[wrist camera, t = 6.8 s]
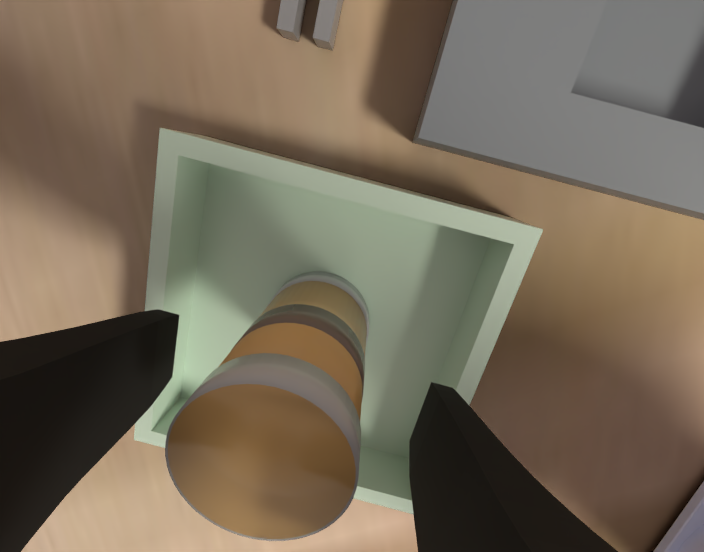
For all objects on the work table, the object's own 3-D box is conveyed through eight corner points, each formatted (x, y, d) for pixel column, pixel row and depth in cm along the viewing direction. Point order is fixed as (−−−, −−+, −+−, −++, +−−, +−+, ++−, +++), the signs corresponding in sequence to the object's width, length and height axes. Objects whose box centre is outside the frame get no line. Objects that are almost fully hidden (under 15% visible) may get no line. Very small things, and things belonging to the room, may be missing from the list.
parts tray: (512, 217, 12) (543, 229, 10) (416, 463, 16) (422, 516, 13) (202, 135, 12) (159, 127, 10) (171, 398, 16) (133, 439, 13)
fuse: (383, 291, 13) (388, 422, 6) (350, 375, 14) (323, 563, 7) (286, 256, 13) (185, 352, 6) (260, 344, 14) (150, 505, 7)
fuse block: (968, -100, 9) (1127, -173, 7) (763, 235, 12) (838, 249, 10) (515, -221, 9) (552, -325, 7) (412, 142, 12) (418, 137, 10)
